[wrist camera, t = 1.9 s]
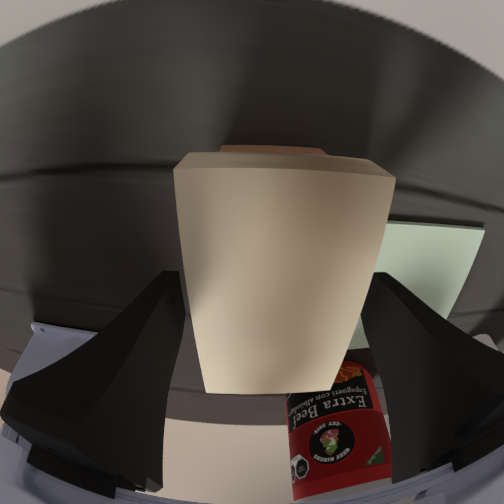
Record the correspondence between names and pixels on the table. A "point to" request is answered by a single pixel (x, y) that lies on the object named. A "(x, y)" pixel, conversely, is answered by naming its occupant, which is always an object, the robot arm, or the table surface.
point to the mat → (426, 263)
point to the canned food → (338, 438)
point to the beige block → (277, 263)
